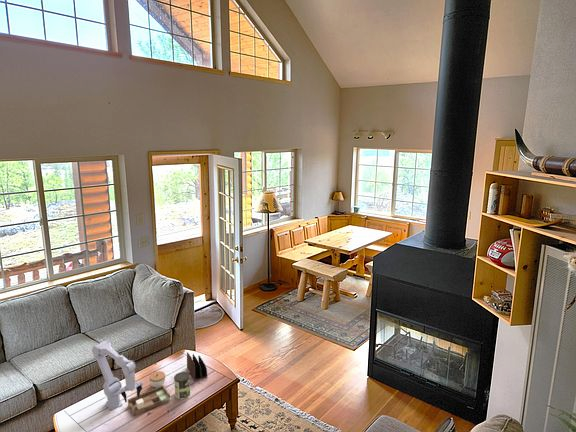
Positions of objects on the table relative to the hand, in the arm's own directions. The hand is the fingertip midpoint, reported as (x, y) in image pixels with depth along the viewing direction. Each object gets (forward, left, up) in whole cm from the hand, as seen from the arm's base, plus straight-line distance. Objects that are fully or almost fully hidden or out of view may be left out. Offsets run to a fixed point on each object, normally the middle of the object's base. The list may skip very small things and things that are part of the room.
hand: (132, 399), depth 247 cm
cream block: (0, +5, -8) cm, 9 cm away
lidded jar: (-18, +23, -11) cm, 31 cm away
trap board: (-3, +12, -10) cm, 16 cm away
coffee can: (+2, +33, -11) cm, 34 cm away
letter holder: (-15, +52, -11) cm, 55 cm away
